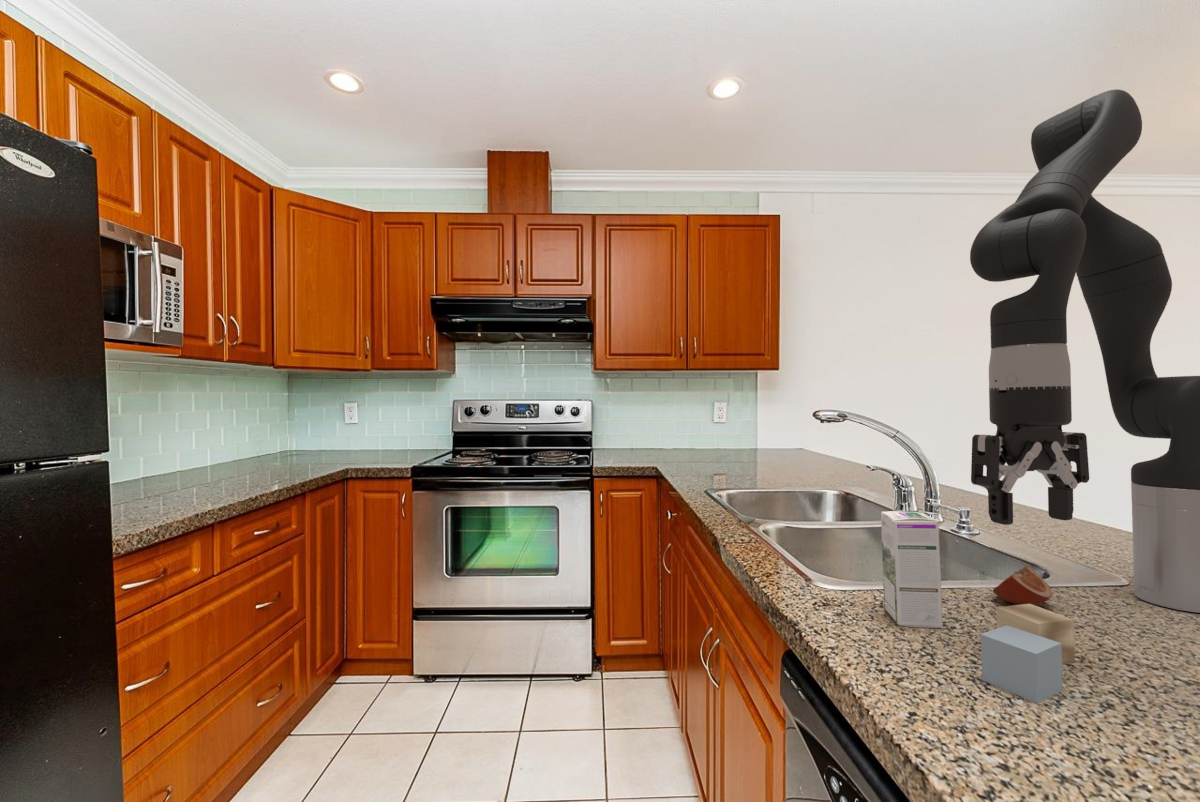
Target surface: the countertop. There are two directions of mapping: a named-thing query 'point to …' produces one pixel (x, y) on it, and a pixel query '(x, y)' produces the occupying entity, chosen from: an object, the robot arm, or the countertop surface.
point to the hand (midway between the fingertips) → (1031, 521)
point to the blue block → (1022, 663)
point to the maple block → (1040, 625)
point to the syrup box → (911, 568)
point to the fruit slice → (1024, 588)
